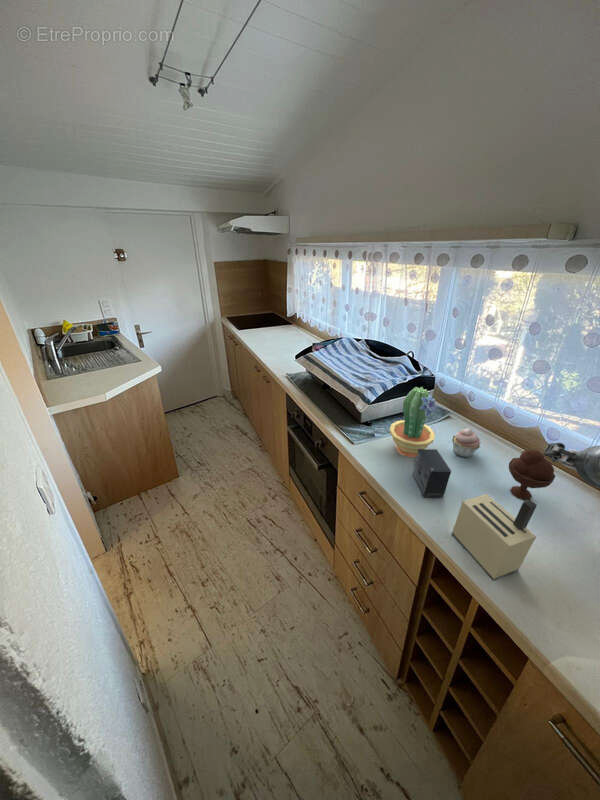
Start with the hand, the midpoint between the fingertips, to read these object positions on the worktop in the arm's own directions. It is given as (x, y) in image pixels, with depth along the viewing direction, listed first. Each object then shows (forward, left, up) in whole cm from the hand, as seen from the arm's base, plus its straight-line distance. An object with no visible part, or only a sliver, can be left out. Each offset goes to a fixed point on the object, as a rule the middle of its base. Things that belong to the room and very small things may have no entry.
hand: (577, 467), depth 64 cm
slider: (+9, +6, -13) cm, 17 cm away
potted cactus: (+27, -35, -26) cm, 51 cm away
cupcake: (+8, -37, -26) cm, 46 cm away
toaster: (+13, +4, -26) cm, 29 cm away
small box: (+23, -17, -26) cm, 39 cm away
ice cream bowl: (-4, -19, -26) cm, 32 cm away
